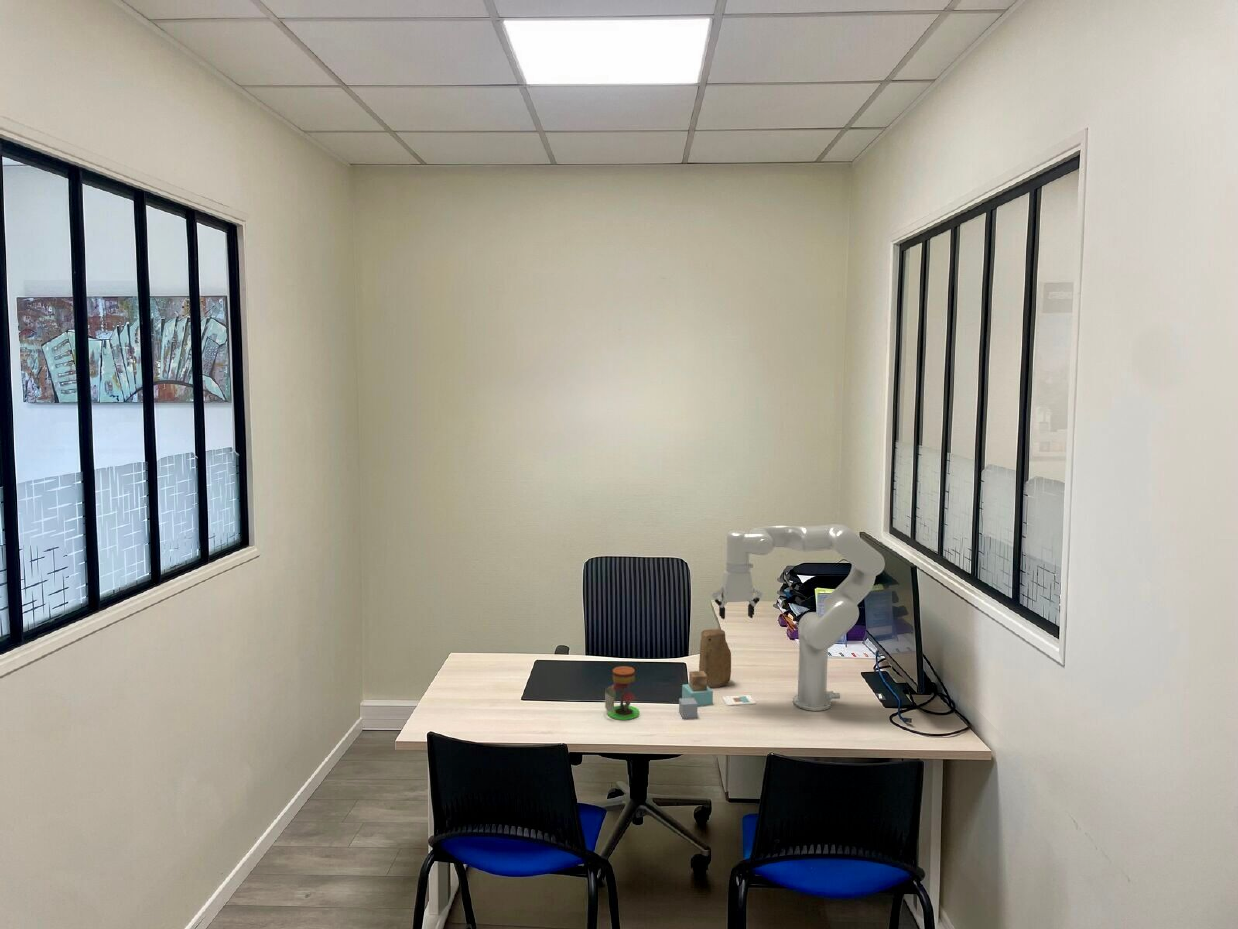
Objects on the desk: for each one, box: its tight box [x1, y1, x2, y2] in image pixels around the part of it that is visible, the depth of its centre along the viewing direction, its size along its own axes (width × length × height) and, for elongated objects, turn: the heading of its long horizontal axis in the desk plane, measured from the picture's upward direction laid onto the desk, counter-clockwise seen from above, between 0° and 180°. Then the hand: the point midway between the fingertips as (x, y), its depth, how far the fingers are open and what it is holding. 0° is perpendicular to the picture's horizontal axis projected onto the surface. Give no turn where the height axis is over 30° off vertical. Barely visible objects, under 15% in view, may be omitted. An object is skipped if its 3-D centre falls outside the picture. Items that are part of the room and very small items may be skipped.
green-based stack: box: [604, 665, 640, 721], centre depth 274 cm, size 12×13×15 cm
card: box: [721, 694, 757, 707], centre depth 285 cm, size 10×7×1 cm
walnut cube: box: [688, 670, 707, 691], centre depth 284 cm, size 5×5×5 cm
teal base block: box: [681, 683, 714, 707], centre depth 285 cm, size 8×8×5 cm
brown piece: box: [698, 628, 732, 688], centre depth 299 cm, size 11×8×20 cm
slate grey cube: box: [678, 697, 698, 720], centre depth 273 cm, size 5×5×5 cm
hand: (736, 617), depth 280 cm, fingers open, 9 cm apart
